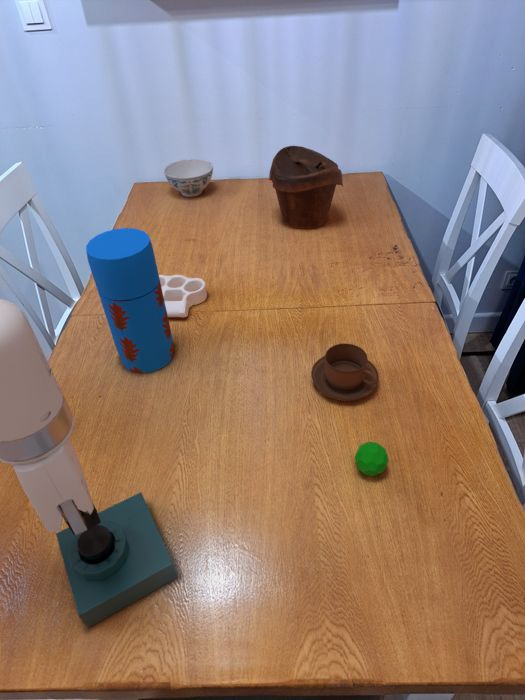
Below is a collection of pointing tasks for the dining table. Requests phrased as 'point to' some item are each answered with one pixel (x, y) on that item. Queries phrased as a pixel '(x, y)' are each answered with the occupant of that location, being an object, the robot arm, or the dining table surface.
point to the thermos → (132, 298)
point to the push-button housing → (118, 562)
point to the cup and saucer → (345, 373)
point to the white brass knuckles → (181, 293)
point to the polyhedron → (371, 458)
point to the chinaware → (189, 176)
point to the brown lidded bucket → (304, 185)
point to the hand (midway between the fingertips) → (86, 523)
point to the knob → (95, 544)
